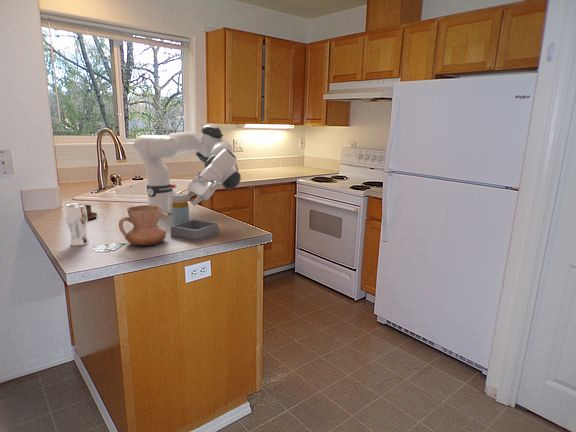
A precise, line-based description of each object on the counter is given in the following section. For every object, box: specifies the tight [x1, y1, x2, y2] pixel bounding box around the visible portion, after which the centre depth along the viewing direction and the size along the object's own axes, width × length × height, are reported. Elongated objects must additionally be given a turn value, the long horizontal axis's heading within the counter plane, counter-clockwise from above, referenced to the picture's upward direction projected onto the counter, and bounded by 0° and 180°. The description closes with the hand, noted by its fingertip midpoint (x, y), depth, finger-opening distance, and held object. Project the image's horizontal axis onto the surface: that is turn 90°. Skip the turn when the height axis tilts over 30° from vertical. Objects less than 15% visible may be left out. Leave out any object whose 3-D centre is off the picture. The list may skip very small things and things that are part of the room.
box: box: [170, 218, 219, 243], centre depth 160 cm, size 14×14×4 cm
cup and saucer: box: [85, 204, 98, 221], centre depth 184 cm, size 12×12×6 cm
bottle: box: [171, 192, 190, 226], centre depth 170 cm, size 7×7×15 cm
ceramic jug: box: [118, 204, 169, 247], centre depth 148 cm, size 18×14×14 cm
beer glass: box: [65, 203, 90, 247], centre depth 146 cm, size 7×7×15 cm
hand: (189, 202), depth 170 cm, fingers open, 8 cm apart
